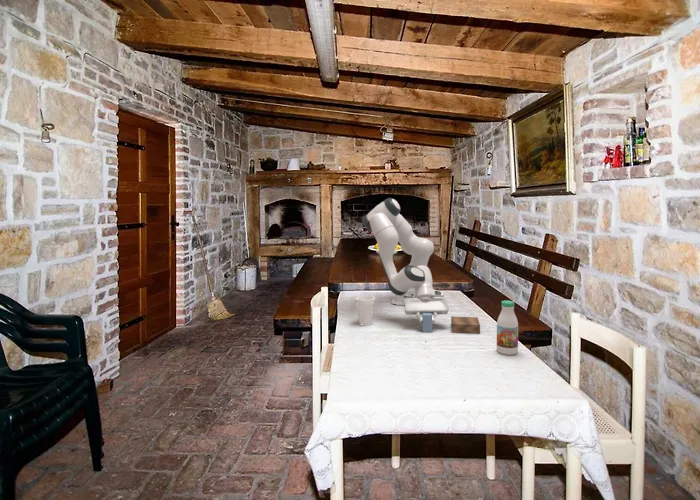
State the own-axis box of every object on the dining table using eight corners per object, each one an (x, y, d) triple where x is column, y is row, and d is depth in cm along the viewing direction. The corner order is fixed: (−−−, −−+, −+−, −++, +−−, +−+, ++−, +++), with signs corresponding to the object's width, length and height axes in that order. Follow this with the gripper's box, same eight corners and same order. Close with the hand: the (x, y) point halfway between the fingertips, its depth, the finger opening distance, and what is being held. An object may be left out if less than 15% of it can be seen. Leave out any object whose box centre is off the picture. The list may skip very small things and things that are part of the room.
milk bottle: (492, 348, 153) (493, 299, 151) (511, 347, 154) (512, 298, 152) (502, 356, 146) (503, 304, 143) (521, 354, 146) (522, 303, 144)
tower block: (422, 329, 179) (422, 312, 178) (431, 329, 179) (431, 312, 178) (423, 332, 175) (423, 315, 174) (432, 332, 175) (432, 315, 174)
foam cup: (377, 321, 193) (377, 296, 192) (372, 327, 185) (372, 300, 183) (359, 320, 196) (359, 295, 195) (353, 325, 188) (353, 299, 186)
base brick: (452, 332, 174) (452, 324, 173) (451, 324, 185) (451, 316, 185) (479, 333, 171) (480, 325, 170) (477, 325, 183) (477, 317, 182)
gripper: (403, 292, 183) (404, 318, 174) (446, 292, 181) (450, 318, 173) (402, 299, 188) (404, 325, 179) (445, 299, 186) (448, 325, 177)
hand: (427, 322), depth 176 cm, fingers closed on tower block, 4 cm apart
